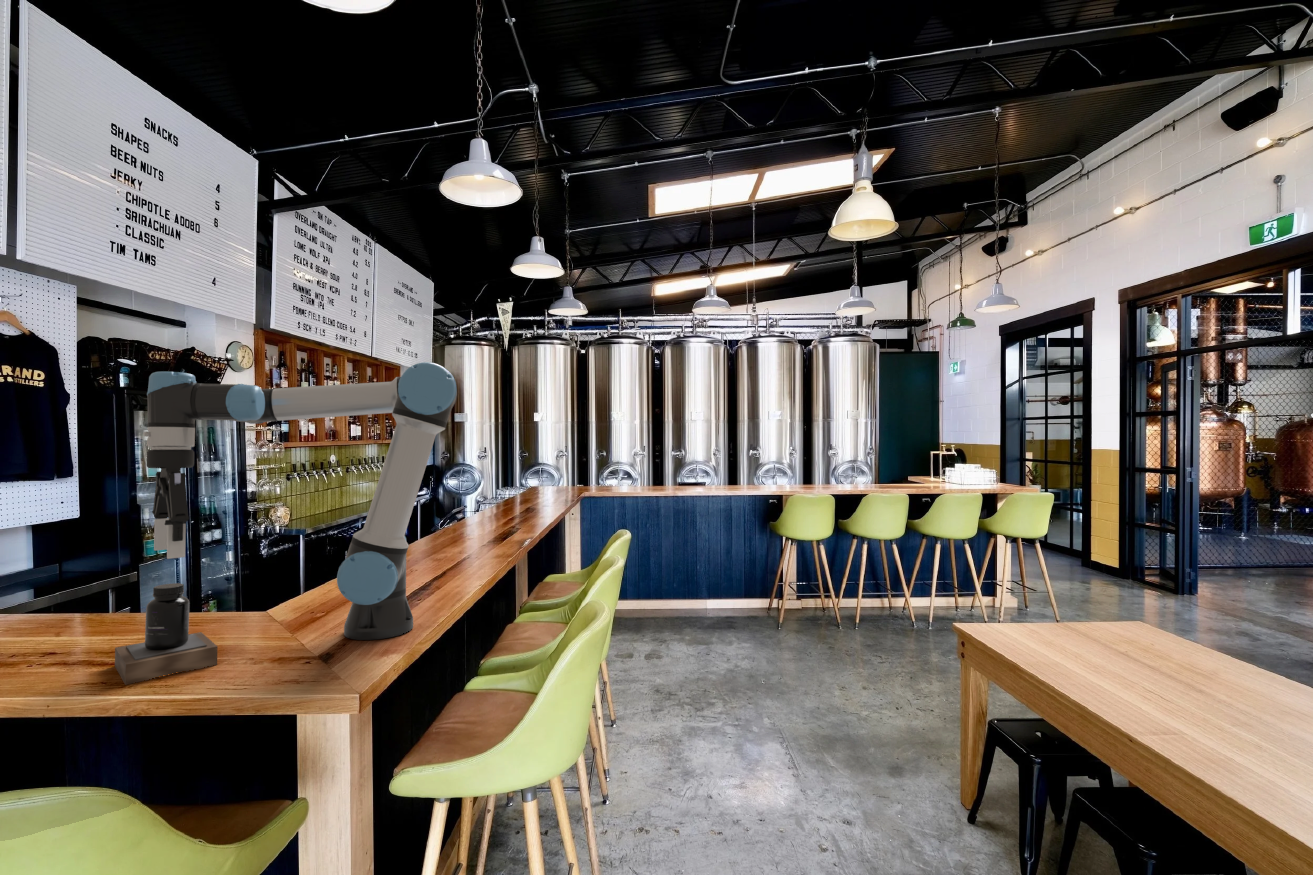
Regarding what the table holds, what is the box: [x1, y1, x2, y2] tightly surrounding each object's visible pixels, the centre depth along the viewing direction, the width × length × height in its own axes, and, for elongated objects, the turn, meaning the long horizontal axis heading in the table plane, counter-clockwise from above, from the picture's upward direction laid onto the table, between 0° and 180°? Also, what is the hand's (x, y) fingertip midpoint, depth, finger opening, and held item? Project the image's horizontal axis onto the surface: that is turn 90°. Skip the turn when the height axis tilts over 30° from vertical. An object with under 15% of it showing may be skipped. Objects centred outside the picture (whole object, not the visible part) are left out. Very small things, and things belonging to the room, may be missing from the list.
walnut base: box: [114, 631, 218, 686], centre depth 121 cm, size 14×14×4 cm
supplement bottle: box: [144, 582, 190, 650], centre depth 121 cm, size 7×7×12 cm
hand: (169, 553), depth 121 cm, fingers open, 13 cm apart
